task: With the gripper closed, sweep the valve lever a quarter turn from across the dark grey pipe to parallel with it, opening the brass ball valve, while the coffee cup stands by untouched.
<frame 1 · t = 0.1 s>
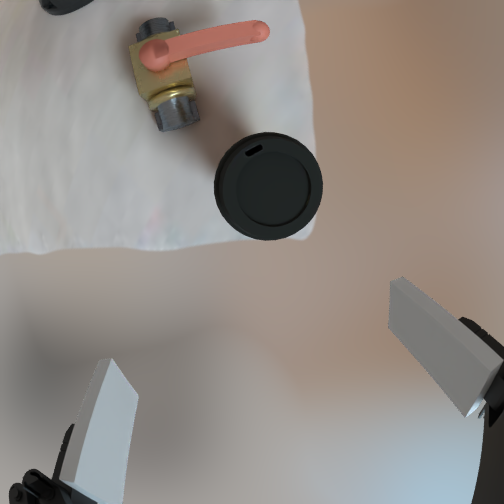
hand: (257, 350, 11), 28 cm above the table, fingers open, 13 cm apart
coffee cup: (250, 176, 36), on the table
lever: (205, 41, 22), point 9 cm above the table, hinge at 0.0°
pipe run: (167, 76, 29), on the table
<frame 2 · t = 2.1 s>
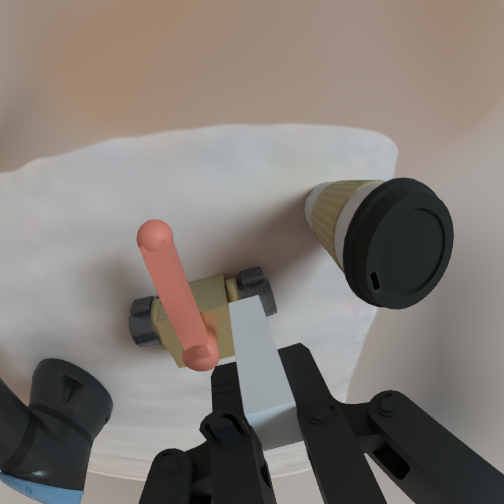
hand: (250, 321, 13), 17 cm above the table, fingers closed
coffee cup: (328, 208, 30), on the table
lever: (179, 301, 21), point 9 cm above the table, hinge at 0.0°
pipe run: (201, 303, 31), on the table
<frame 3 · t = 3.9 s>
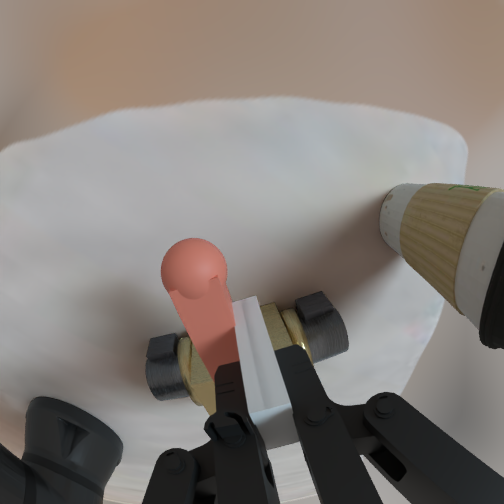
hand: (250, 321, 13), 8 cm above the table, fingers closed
coffee cup: (404, 216, 22), on the table
lever: (233, 364, 13), point 9 cm above the table, hinge at 1.6°, touching gripper
pipe run: (242, 340, 23), on the table
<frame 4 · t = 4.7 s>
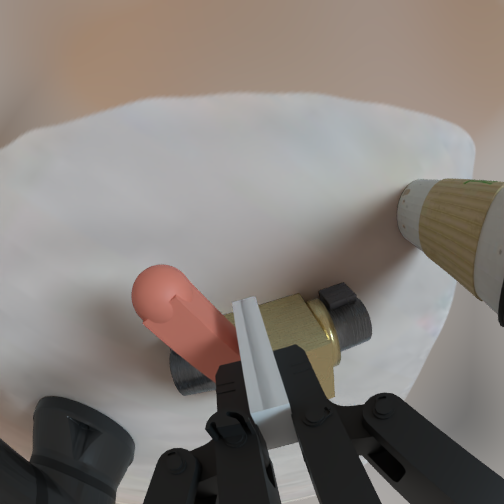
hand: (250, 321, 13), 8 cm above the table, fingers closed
coffee cup: (418, 210, 22), on the table
lever: (239, 366, 14), point 9 cm above the table, hinge at 23.4°, touching gripper
pipe run: (266, 332, 23), on the table
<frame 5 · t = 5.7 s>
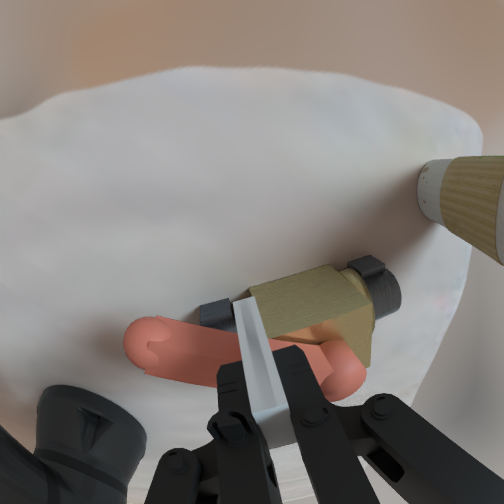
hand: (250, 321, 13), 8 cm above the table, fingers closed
coffee cup: (435, 189, 22), on the table
lever: (254, 363, 14), point 9 cm above the table, hinge at 58.4°, touching gripper
pipe run: (295, 306, 23), on the table
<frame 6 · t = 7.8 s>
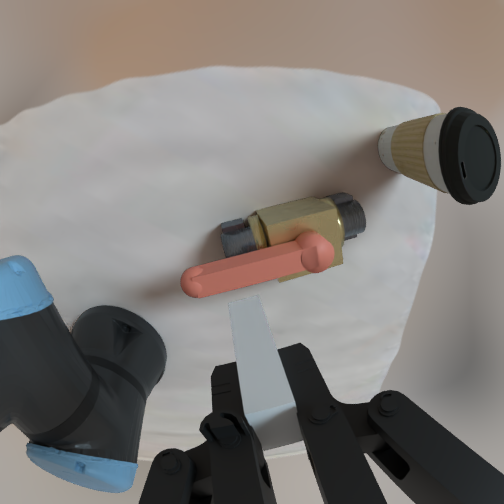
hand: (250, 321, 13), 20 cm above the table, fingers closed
coffee cup: (395, 148, 31), on the table
lever: (256, 266, 24), point 9 cm above the table, hinge at 89.2°
pipe run: (289, 227, 33), on the table
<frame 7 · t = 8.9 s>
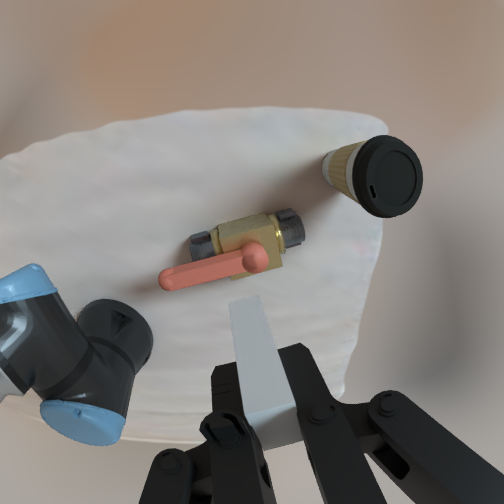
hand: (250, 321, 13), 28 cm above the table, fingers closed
coffee cup: (339, 168, 40), on the table
lever: (211, 268, 33), point 9 cm above the table, hinge at 89.2°
pipe run: (245, 237, 42), on the table
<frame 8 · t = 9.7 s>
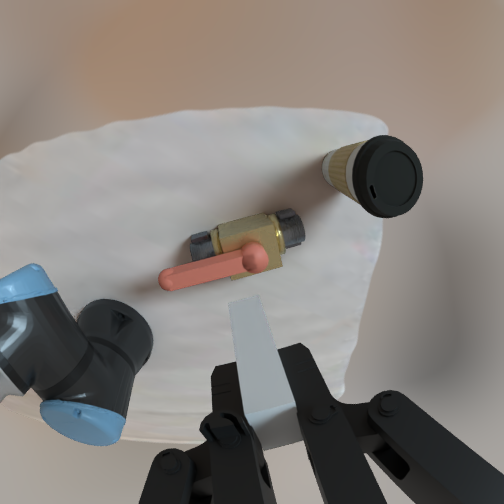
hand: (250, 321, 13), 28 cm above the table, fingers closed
coffee cup: (339, 168, 40), on the table
lever: (211, 268, 33), point 9 cm above the table, hinge at 89.2°
pipe run: (245, 237, 42), on the table
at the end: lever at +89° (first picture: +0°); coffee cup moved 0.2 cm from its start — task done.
